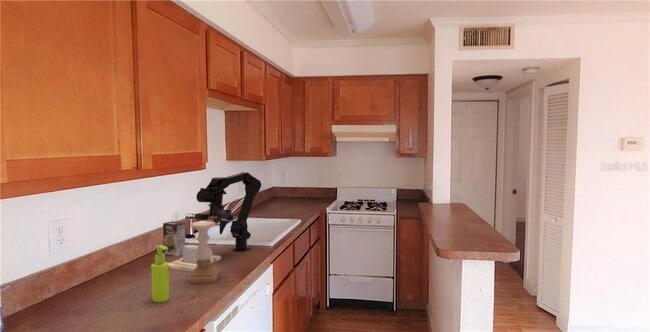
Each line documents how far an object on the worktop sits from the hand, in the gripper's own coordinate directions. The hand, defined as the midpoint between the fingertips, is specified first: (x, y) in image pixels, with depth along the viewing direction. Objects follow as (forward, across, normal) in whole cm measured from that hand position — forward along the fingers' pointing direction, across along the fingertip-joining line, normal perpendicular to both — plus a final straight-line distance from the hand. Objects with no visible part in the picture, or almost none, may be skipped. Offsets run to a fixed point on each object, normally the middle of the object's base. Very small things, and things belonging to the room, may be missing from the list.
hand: (212, 234), depth 188 cm
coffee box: (+13, -6, +23) cm, 27 cm away
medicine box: (+14, -9, 0) cm, 17 cm away
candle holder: (+16, -16, -20) cm, 30 cm away
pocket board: (+14, -8, +1) cm, 16 cm away
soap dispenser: (+19, -37, -28) cm, 50 cm away
